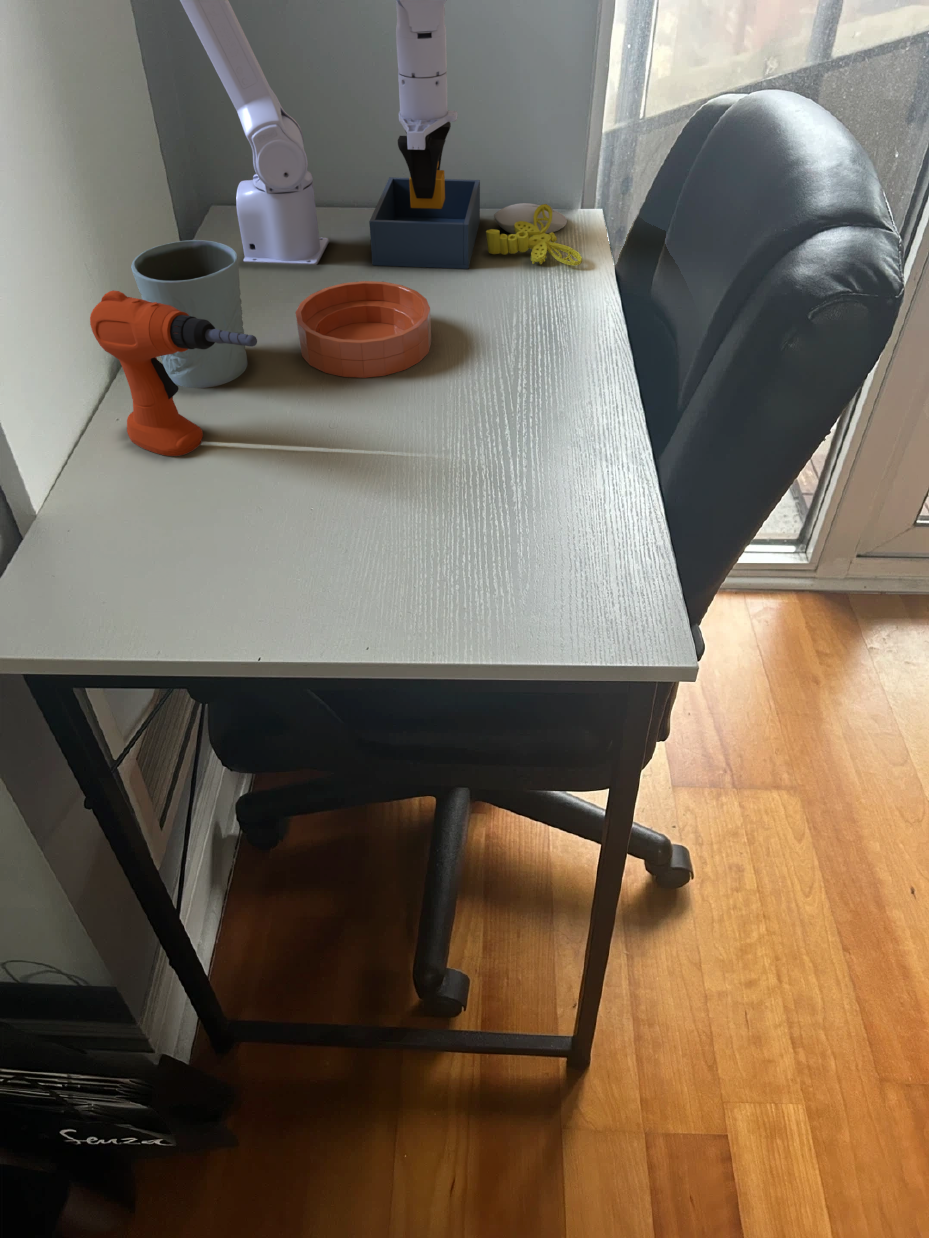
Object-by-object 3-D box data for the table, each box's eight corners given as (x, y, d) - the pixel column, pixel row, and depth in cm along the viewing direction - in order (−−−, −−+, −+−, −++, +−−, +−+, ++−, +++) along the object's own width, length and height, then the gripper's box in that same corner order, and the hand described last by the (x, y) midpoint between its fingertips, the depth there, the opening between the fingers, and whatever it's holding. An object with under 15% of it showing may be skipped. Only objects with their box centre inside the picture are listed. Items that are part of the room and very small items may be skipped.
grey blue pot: (147, 392, 97) (116, 280, 89) (175, 345, 104) (149, 237, 96) (244, 395, 97) (222, 282, 88) (265, 347, 104) (247, 239, 95)
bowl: (287, 378, 99) (281, 339, 96) (317, 316, 109) (312, 278, 106) (421, 385, 98) (419, 345, 95) (438, 321, 108) (437, 283, 105)
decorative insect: (508, 290, 117) (583, 267, 118) (506, 268, 114) (583, 245, 115) (476, 231, 124) (548, 210, 125) (473, 209, 121) (547, 187, 122)
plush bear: (410, 208, 119) (407, 150, 115) (414, 198, 122) (411, 141, 117) (441, 209, 119) (440, 151, 114) (445, 199, 121) (443, 142, 117)
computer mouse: (571, 232, 126) (572, 209, 124) (499, 240, 124) (500, 217, 122) (557, 216, 130) (559, 193, 128) (488, 223, 128) (488, 200, 126)
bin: (372, 265, 119) (369, 221, 115) (391, 218, 130) (389, 177, 126) (468, 269, 118) (468, 224, 114) (479, 221, 129) (479, 180, 125)
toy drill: (274, 481, 83) (226, 319, 74) (121, 449, 91) (60, 299, 82) (306, 454, 86) (264, 294, 77) (155, 424, 94) (100, 277, 85)
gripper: (449, 90, 104) (451, 214, 114) (463, 55, 115) (464, 172, 124) (386, 89, 105) (393, 213, 114) (405, 54, 115) (411, 171, 125)
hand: (426, 192), depth 119 cm, fingers closed on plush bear, 3 cm apart
